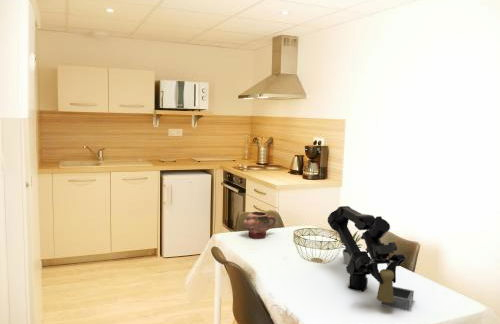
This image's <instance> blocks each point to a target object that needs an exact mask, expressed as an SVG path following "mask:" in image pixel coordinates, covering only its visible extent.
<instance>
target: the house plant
mask: <svg viewBox="0 0 500 324" xmlns="http://www.w3.org/2000/svg"><path fill="white" fill-rule="evenodd" d="M358 232H359V230H357V231H355V232H354V234H353V235H352V236H353V238H354V240H355V242H356V244H357V245H358V247H359V249H362V247H361V246H362V244H361V243H359V244H358V242H359V241H360V240H361V234H358ZM356 236H357V237H356ZM338 238H339V239H340V244H341V245H342V247H341V249H342V248H343V249H342V256H343V264H344V265H345V266H348V264H349V261H350V255H349V253H348V251H347V249H346V248H345V246H344V244H343V242H342V240H341V238H340V236H339V235H338Z"/></svg>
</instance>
